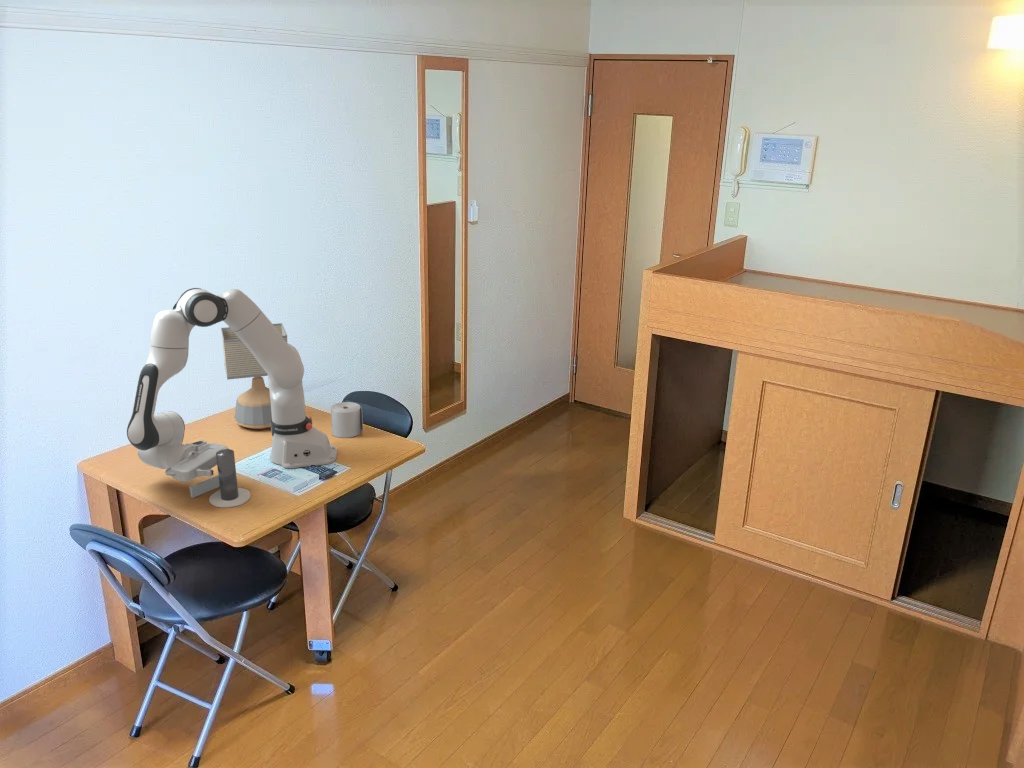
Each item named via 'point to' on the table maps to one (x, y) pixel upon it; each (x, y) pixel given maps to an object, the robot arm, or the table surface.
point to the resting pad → (242, 498)
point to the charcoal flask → (227, 474)
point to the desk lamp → (242, 364)
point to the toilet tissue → (346, 419)
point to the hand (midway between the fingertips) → (222, 467)
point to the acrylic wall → (204, 486)
